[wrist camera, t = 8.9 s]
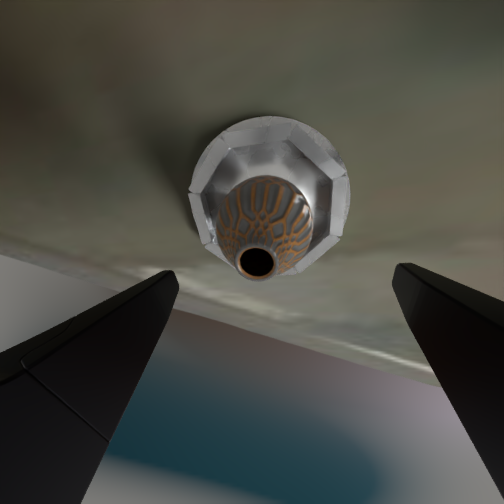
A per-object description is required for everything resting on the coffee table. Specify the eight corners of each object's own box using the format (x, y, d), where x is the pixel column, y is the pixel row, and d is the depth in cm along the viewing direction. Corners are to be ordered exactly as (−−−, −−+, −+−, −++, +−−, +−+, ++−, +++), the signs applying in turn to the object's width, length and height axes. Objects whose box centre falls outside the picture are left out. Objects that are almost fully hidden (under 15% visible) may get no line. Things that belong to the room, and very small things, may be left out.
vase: (298, 249, 20) (307, 320, 12) (228, 238, 20) (195, 301, 13) (316, 174, 16) (345, 209, 9) (231, 163, 17) (187, 188, 9)
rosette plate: (356, 101, 14) (367, 96, 12) (340, 266, 21) (345, 279, 19) (174, 132, 17) (161, 132, 15) (212, 270, 24) (206, 282, 22)
